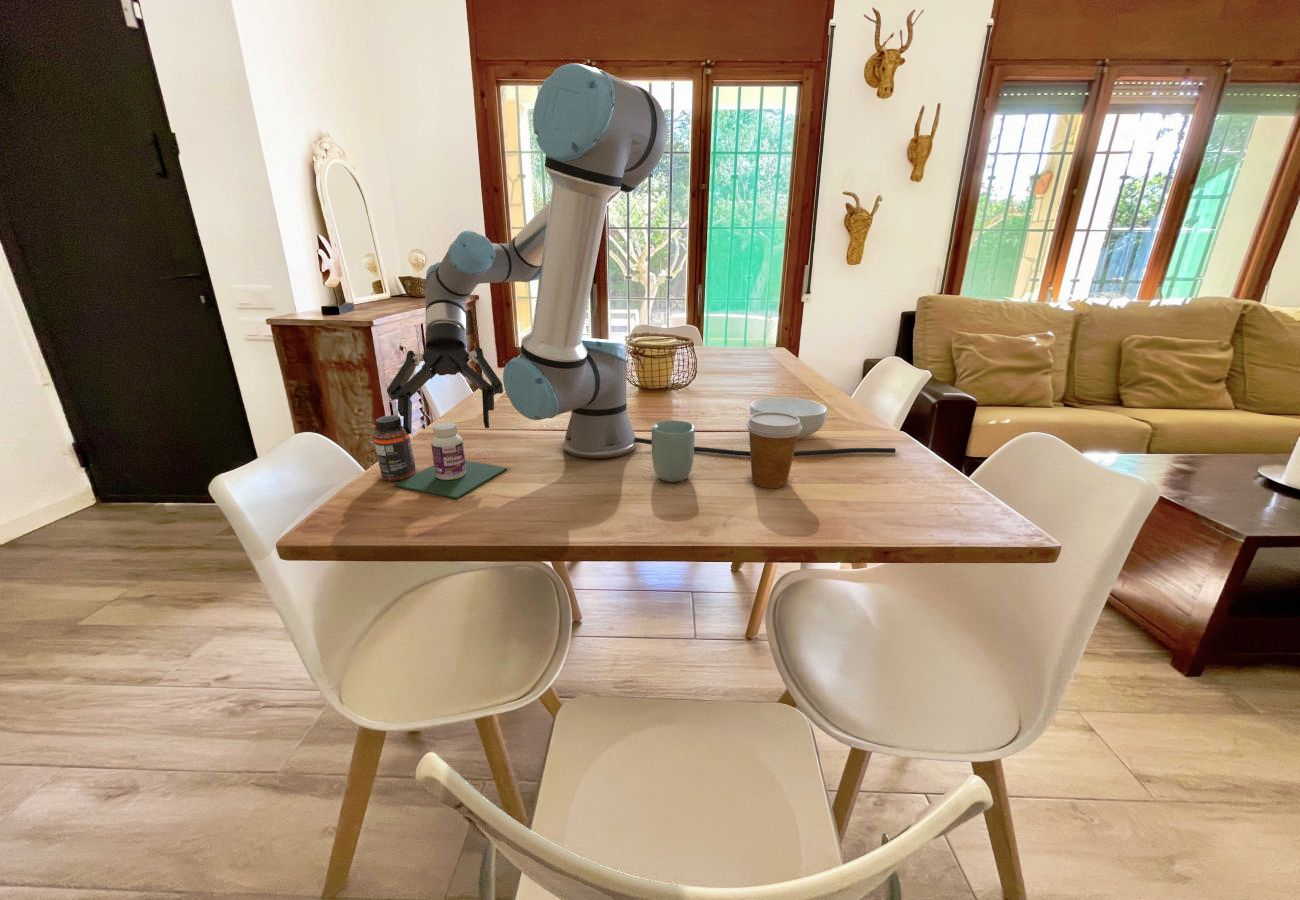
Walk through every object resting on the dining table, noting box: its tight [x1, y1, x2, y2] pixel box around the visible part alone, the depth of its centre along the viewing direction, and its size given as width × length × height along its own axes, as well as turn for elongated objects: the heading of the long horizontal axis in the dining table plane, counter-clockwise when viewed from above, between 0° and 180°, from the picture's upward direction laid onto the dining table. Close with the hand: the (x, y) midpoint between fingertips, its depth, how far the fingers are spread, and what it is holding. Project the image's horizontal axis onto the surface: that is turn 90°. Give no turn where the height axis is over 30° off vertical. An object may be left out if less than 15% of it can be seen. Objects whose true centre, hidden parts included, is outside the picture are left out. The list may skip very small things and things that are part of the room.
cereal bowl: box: [749, 396, 828, 440], centre depth 118 cm, size 17×17×7 cm
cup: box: [651, 419, 696, 483], centre depth 94 cm, size 8×8×10 cm
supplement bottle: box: [372, 414, 417, 482], centre depth 95 cm, size 6×6×11 cm
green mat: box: [393, 460, 508, 500], centre depth 96 cm, size 14×14×1 cm
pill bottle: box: [430, 422, 466, 480], centre depth 94 cm, size 5×5×10 cm
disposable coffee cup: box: [746, 412, 802, 489], centre depth 92 cm, size 10×10×12 cm
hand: (447, 427), depth 94 cm, fingers open, 13 cm apart
